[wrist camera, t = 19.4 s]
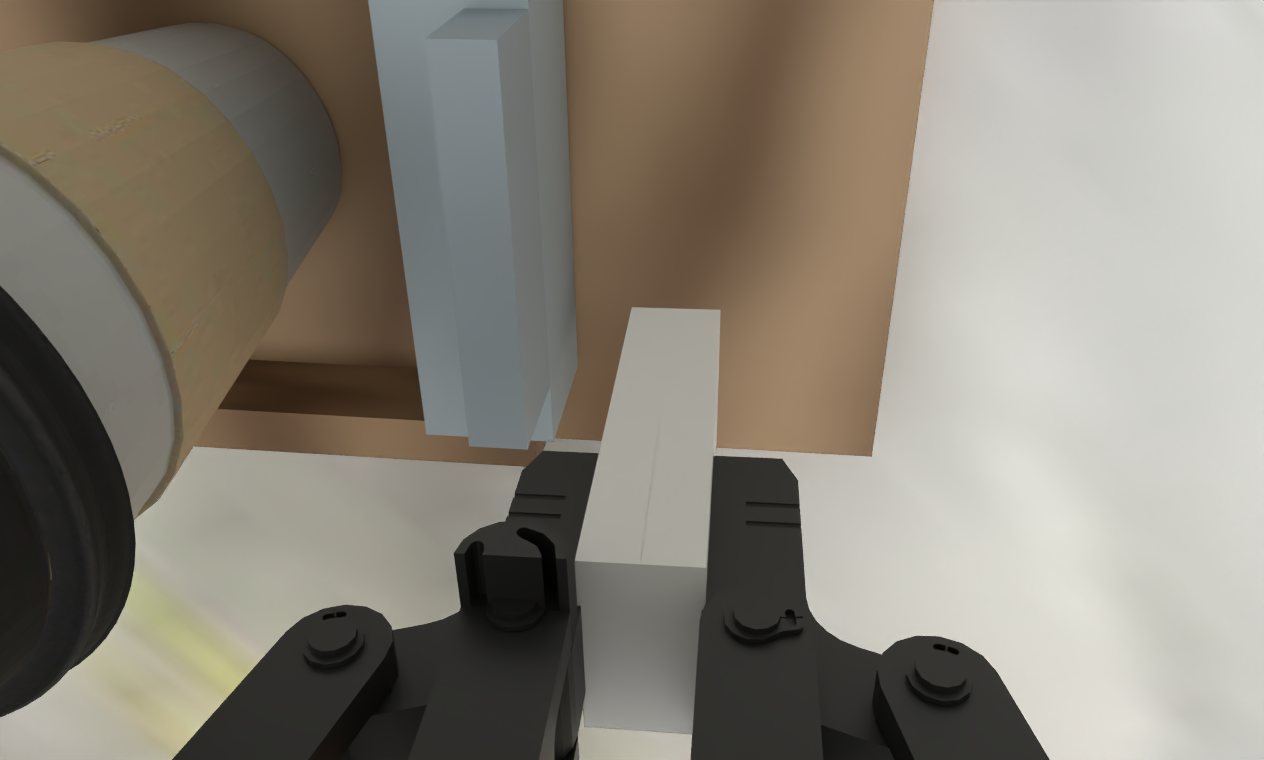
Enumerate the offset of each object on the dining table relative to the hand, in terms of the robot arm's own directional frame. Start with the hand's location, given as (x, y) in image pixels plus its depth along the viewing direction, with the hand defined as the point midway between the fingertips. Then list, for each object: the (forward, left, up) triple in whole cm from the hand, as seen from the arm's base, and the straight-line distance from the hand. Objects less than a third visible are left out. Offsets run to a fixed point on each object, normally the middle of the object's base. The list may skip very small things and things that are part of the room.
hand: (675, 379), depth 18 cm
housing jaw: (-5, +1, -7) cm, 9 cm away
